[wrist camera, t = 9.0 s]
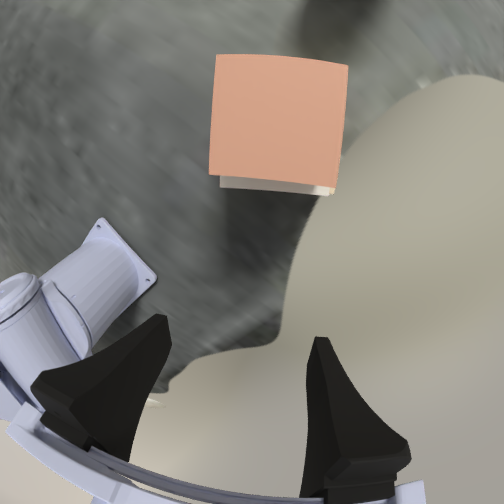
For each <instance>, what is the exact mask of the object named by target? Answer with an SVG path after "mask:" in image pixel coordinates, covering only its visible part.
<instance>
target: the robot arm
mask: <svg viewBox="0 0 504 504" xmlns="http://www.w3.org/2000/svg"><path fill="white" fill-rule="evenodd" d="M99 225H100V227H101V228H100V227H99ZM148 279H149V280H150V281H148ZM156 280H157V276H156V274H155V273H154V272H153V271H152V270H151V269H150V268H149V267H148V266H147V265H146V264H145V263H144V262H143V261H142V260H141V259H140V258H139V256H138V255H137V254H136V253H135V252H134V251H133V250H132V249H131V248H130V247H129V246H128V245H127V243H126V242H125V241H124V240H123V239H122V238H121V237H120V236H119V235H118V233H117V232H116V231H115V230H114V229H113V228H112V227H111V225H110V224H109V223H108V222H107V221H106V220H105V219H104V218H100V219H98V220H97V222H96V223H95V225H94V227H93V228H92V230H91V231H90V233H89V234H88V236H87V237H86V239H85V241H84V242H83V244H82V246H81V247H80V248H79V249H77V250H76V251H74V252H73V253H72V254H70V255H69V256H67V257H66V258H65V259H63V260H62V261H61V262H59V263H58V264H57V265H55V266H54V267H53V268H51V269H50V270H49V271H48V272H46V273H45V274H44V275H42V276H41V277H40V278H39V279H37V277H36V276H35V275H32V274H28V273H19V274H16V275H14V276H12V277H10V278H8V279H6V280H4V281H3V282H1V283H0V419H3V420H7V421H10V422H11V423H10V425H9V426H8V428H7V429H6V433H7V434H8V435H9V436H10V437H11V438H12V439H13V440H14V441H15V442H17V443H18V444H19V445H20V446H21V447H23V448H24V449H25V450H26V451H27V452H28V453H30V454H31V455H32V456H34V457H35V458H36V459H37V460H39V461H40V462H41V463H43V464H44V465H45V466H47V467H48V468H50V469H51V470H52V471H54V472H55V473H57V474H58V475H60V476H61V477H63V478H64V479H66V480H67V481H69V482H71V483H72V484H74V485H75V486H77V487H79V488H81V489H82V490H84V491H86V492H87V493H89V494H91V495H93V496H94V497H93V500H92V502H91V504H190V503H187V502H183V501H179V500H176V499H173V498H169V497H166V496H163V495H160V494H157V493H154V492H151V491H148V490H144V489H142V488H139V487H138V486H136V485H135V484H133V483H132V481H131V480H129V479H127V478H130V479H132V480H135V481H137V482H140V483H143V484H145V485H148V486H151V487H154V488H157V489H160V490H163V491H166V492H169V493H173V494H176V495H179V496H183V497H187V498H190V499H194V500H198V501H203V502H207V503H212V504H426V498H425V490H424V483H423V480H417V481H414V482H409V483H405V484H401V485H398V486H394V481H396V480H397V474H396V473H397V472H399V471H400V470H401V469H403V468H404V467H406V466H407V465H408V464H409V463H410V461H411V453H410V449H409V445H408V442H407V440H406V439H404V438H403V437H402V436H400V435H399V434H398V433H396V432H395V431H394V430H392V429H391V428H390V427H389V426H388V425H387V424H386V423H385V422H383V421H382V419H381V418H380V417H379V416H378V415H377V414H376V413H375V412H374V411H373V410H372V409H371V408H370V407H369V406H368V404H367V403H366V402H365V401H364V399H363V398H362V397H361V396H360V394H359V393H358V391H357V390H356V389H355V387H354V385H353V384H352V382H351V381H350V379H349V377H348V376H347V374H346V372H345V371H344V369H343V367H342V365H341V363H340V361H339V360H338V357H337V355H336V353H335V351H334V350H333V347H332V345H331V342H330V340H329V339H328V337H315V339H314V342H313V346H312V349H311V353H310V356H309V360H308V363H307V375H306V390H307V391H306V392H307V410H308V436H307V447H306V457H305V465H304V472H303V479H302V485H301V491H300V496H299V498H287V497H270V496H260V495H250V494H243V493H236V492H230V491H224V490H219V489H213V488H209V487H204V486H199V485H196V484H191V483H188V482H184V481H180V480H177V479H173V478H170V477H167V476H164V475H160V474H158V473H155V472H152V471H149V470H146V469H143V468H141V467H138V466H135V465H133V464H130V463H128V462H129V458H130V453H131V449H132V444H133V440H134V436H135V433H136V429H137V426H138V423H139V419H140V417H141V414H142V410H143V408H144V405H145V402H146V400H147V398H148V395H149V393H150V391H151V389H152V388H153V386H154V384H155V382H156V380H157V378H158V376H159V374H160V372H161V370H162V368H163V366H164V365H165V363H166V360H167V358H168V355H169V352H170V349H171V346H172V342H171V337H170V331H169V326H168V320H167V316H165V315H160V314H155V315H153V316H152V317H151V318H149V319H148V320H147V321H145V322H144V323H143V324H141V325H140V326H139V327H137V328H136V329H134V330H133V331H132V332H130V333H129V334H128V335H126V336H125V337H123V338H122V339H120V340H119V341H117V342H115V343H114V344H112V345H111V346H109V347H107V348H106V349H104V350H102V351H100V352H98V353H96V354H94V355H93V354H92V352H91V349H92V348H93V347H94V345H95V344H96V343H97V341H98V340H99V339H100V338H101V336H102V335H103V334H104V332H105V331H106V330H107V329H108V327H109V326H110V325H111V324H112V322H113V321H114V320H115V319H116V318H117V317H118V316H119V315H120V314H121V313H122V312H123V311H124V310H125V309H127V308H128V307H129V306H130V305H131V304H132V303H133V302H134V301H135V300H136V299H137V298H138V297H139V296H140V295H141V294H142V293H143V292H145V291H146V290H147V289H148V288H149V287H150V286H151V285H152V284H153V283H154V282H155V281H156ZM117 473H118V474H117ZM119 474H120V475H119ZM121 475H123V476H125V477H127V478H125V477H123V476H121Z"/></svg>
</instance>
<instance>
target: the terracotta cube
mask: <svg viewBox="0 0 504 504" xmlns="http://www.w3.org/2000/svg"><path fill="white" fill-rule="evenodd" d="M347 80H348V65H344V64H338V63H333V62H327V61H321V60H314V59H306V58H297V57H287V56H274V55H253V54H223V55H217V56H216V66H215V77H214V90H213V103H212V119H211V136H210V157H209V175H223V176H236V177H248V178H258V179H268V180H278V181H286V182H295V183H302V184H310V185H317V186H324V187H331V188H336V184H337V177H338V169H339V162H340V154H341V146H342V137H343V128H344V118H345V107H346V94H347Z"/></svg>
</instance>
